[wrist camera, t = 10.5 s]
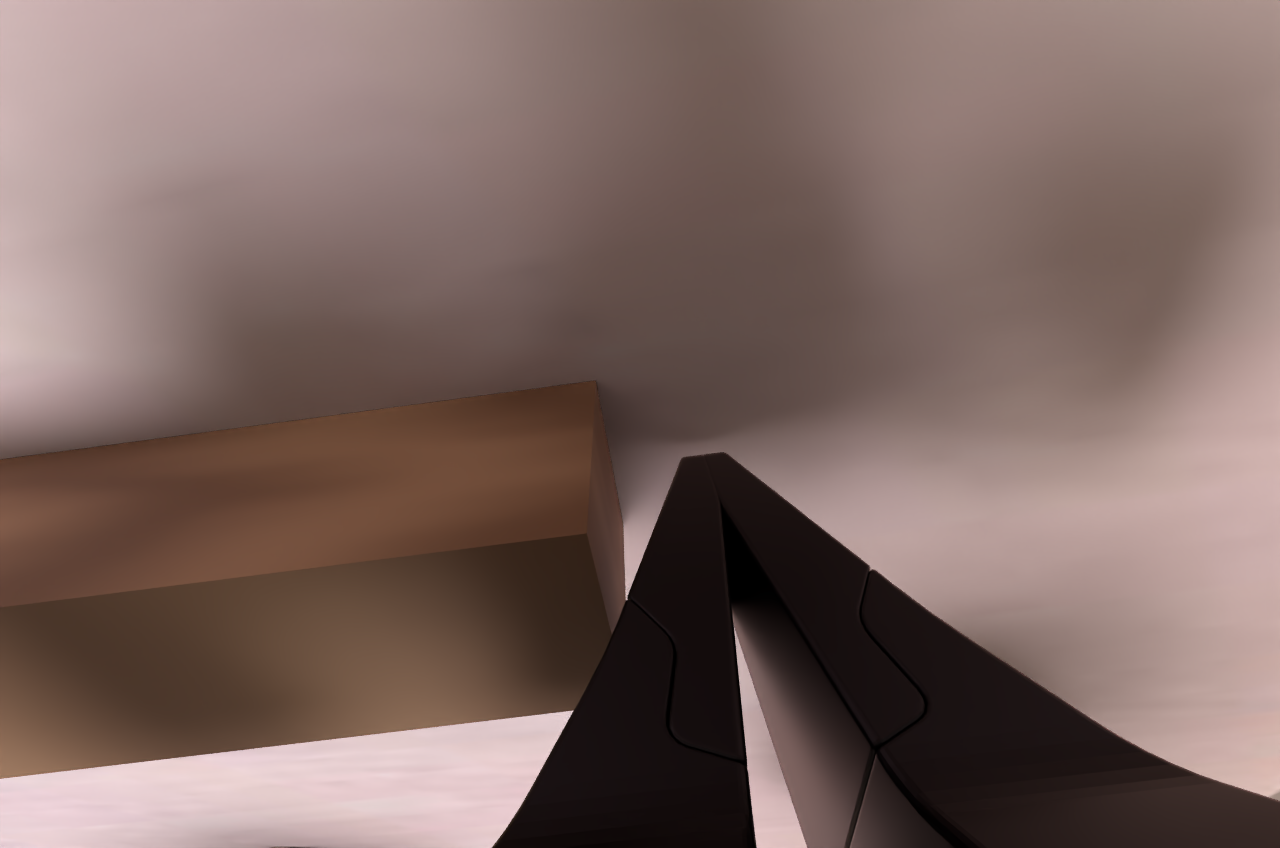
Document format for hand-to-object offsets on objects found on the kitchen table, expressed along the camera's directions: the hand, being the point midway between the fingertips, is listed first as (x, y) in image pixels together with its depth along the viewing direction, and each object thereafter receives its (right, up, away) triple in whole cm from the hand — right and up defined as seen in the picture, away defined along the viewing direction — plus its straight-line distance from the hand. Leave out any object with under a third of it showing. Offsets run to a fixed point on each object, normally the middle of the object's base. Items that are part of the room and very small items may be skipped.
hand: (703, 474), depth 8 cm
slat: (-9, -1, +1) cm, 9 cm away
